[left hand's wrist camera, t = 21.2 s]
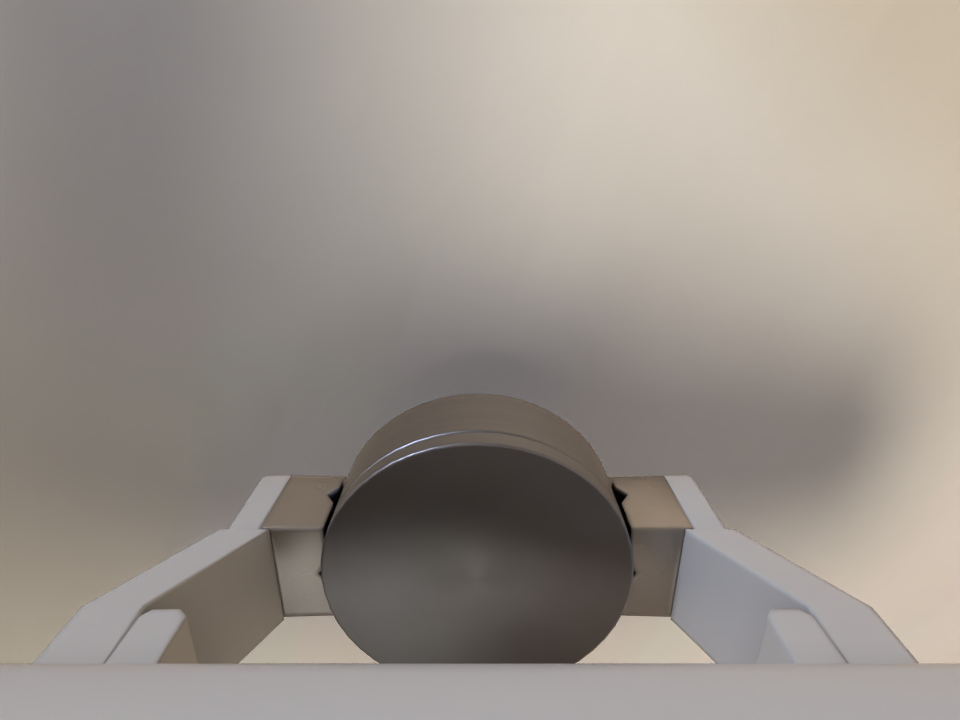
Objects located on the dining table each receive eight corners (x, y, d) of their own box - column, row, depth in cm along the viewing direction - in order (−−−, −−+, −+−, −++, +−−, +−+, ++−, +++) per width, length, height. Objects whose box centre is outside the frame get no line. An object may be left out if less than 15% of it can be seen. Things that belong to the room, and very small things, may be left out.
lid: (507, 337, 9) (512, 378, 7) (660, 533, 10) (692, 604, 9) (288, 490, 10) (253, 555, 8) (454, 650, 11) (450, 730, 10)
